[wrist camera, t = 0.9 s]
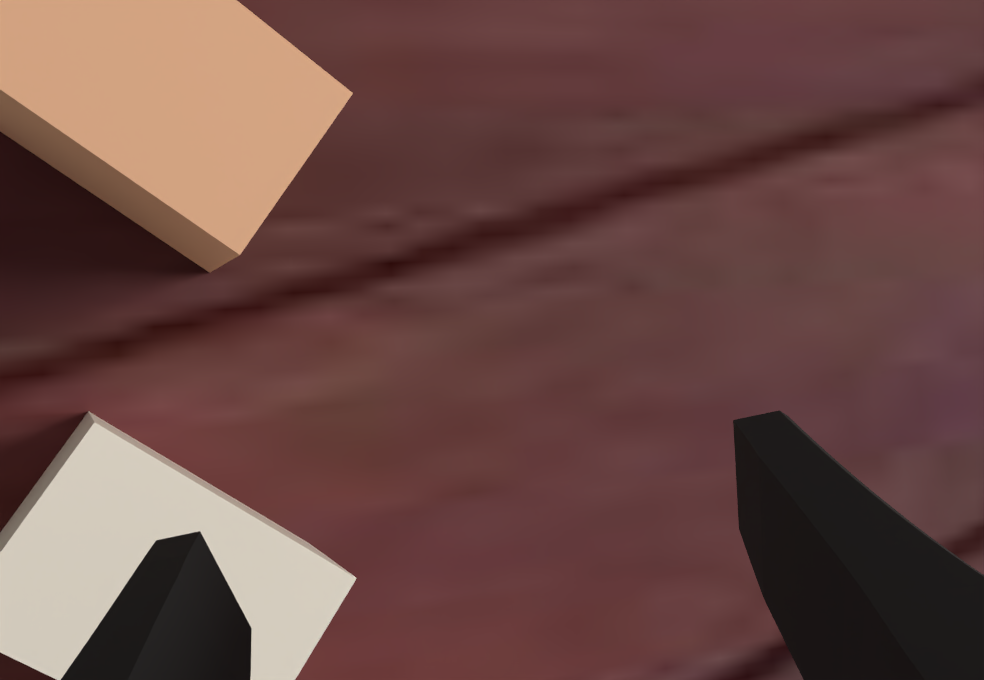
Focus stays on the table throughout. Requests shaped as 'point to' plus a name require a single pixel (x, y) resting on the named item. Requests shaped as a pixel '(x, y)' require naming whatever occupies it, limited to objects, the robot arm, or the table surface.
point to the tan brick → (165, 111)
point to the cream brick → (127, 539)
